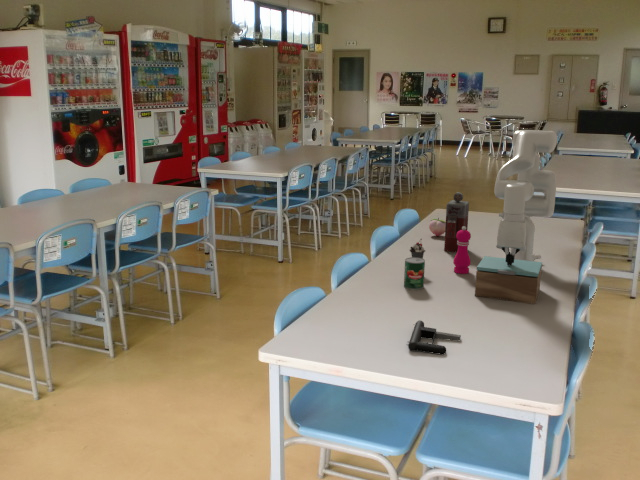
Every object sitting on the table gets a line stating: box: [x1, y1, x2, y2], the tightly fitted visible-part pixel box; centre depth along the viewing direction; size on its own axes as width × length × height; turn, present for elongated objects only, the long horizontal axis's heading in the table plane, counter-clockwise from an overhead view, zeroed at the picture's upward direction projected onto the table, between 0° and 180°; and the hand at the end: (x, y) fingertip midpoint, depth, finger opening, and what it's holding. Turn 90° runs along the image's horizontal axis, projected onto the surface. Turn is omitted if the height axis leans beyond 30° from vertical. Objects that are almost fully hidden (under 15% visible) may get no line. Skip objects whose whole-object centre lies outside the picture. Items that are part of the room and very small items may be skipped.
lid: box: [476, 255, 543, 277], centre depth 245 cm, size 20×22×1 cm
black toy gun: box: [407, 319, 462, 355], centre depth 202 cm, size 3×20×16 cm
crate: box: [474, 266, 543, 305], centre depth 247 cm, size 18×22×10 cm
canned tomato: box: [403, 256, 426, 291], centre depth 254 cm, size 8×8×11 cm
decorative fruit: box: [428, 217, 446, 237], centre depth 335 cm, size 9×8×10 cm
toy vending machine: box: [443, 191, 470, 253], centre depth 305 cm, size 9×11×28 cm
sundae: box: [409, 238, 426, 259], centre depth 270 cm, size 7×7×15 cm
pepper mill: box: [453, 226, 472, 275], centre depth 272 cm, size 7×7×20 cm
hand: (509, 264), depth 244 cm, fingers closed
